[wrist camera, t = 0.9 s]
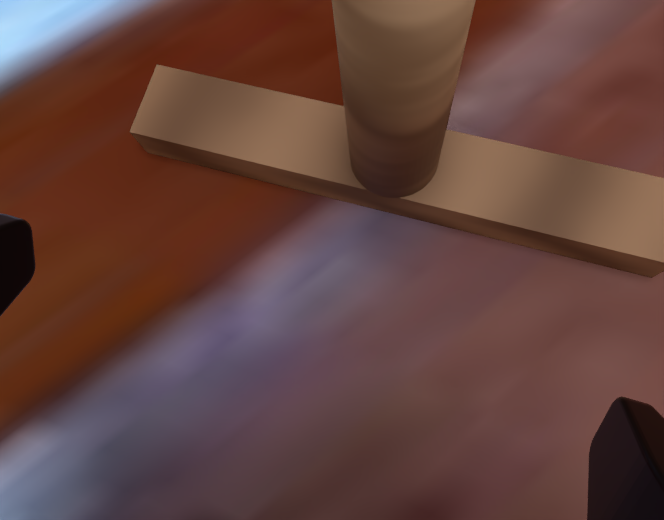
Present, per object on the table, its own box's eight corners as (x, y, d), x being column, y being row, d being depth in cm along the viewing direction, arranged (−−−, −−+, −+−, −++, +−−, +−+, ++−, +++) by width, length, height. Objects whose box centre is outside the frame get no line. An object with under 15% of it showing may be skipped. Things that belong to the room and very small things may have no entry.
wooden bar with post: (662, 201, 22) (962, -31, 11) (648, 281, 22) (956, 123, 10) (174, 89, 25) (2, -189, 14) (148, 156, 25) (-58, -77, 13)
